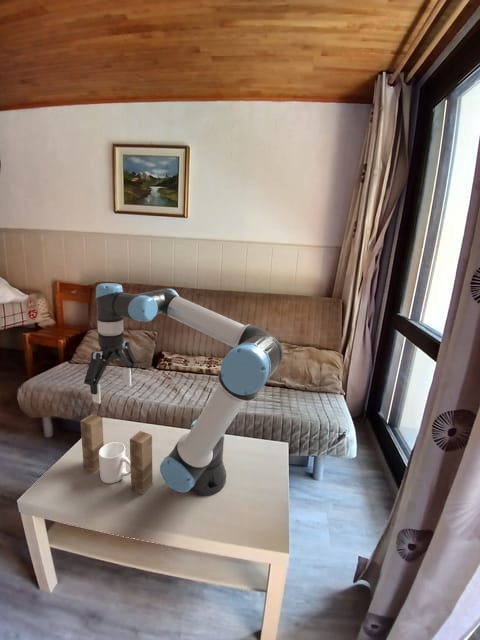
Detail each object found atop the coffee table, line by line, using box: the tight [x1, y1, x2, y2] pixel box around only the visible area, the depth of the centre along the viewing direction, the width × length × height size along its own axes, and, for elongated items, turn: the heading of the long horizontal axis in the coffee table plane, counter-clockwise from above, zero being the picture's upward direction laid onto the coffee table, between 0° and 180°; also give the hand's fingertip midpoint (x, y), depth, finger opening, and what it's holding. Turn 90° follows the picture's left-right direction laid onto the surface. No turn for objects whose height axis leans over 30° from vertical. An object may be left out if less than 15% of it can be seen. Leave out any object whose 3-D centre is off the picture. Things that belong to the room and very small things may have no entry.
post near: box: [129, 430, 153, 495], centre depth 104 cm, size 5×5×20 cm
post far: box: [79, 413, 105, 474], centre depth 112 cm, size 5×5×20 cm
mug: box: [99, 441, 131, 484], centre depth 109 cm, size 9×12×11 cm
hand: (113, 393), depth 103 cm, fingers open, 13 cm apart
